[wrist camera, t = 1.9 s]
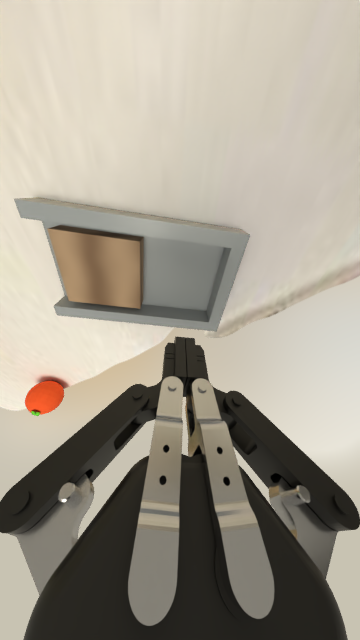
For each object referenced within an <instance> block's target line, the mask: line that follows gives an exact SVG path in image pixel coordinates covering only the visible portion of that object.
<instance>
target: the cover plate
mask: <svg viewBox="0 0 360 640" xmlns="http://www.w3.org/2000/svg"><path fill="white" fill-rule="evenodd" d="M47 230H48V233H49V236H50V240H51V243H52V246H53V250H54V253H55V256H56V260H57V263H58V266H59V270H60V273H61V276H62V280H63V283H64V286H65V290H66V293H67V296H68V300H69V301H74V302H83V303H92V304H101V305H111V306H120V307H129V308H138V309H140V308H141V305H142V302H143V257H144V237H140V236H133V235H126V234H119V233H112V232H105V231H99V230H92V229H85V228H78V227H71V226H64V225H58V226H54V227H51V228H47Z"/></svg>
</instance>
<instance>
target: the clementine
mask: <svg viewBox="0 0 360 640" xmlns="http://www.w3.org/2000/svg"><path fill="white" fill-rule="evenodd" d="M63 397H64V390H63V387H62V386H61V385H60V384H59V383H57V382H55V381H44V382H41V383H39V384H37V385H35V386H34V387H33V388H32V389H31V390H30V391H29V392H28V394H27V396H26V399H25V405H26V407H27V409H28V410H29V411H30V412H31V413H32V414H33V415H36V416H39V414H45V413H49V412H51V411H52V410H54V409H55V408H57V407H58V406H59V404H60V403H61V402H62V400H63Z"/></svg>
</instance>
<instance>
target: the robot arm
mask: <svg viewBox="0 0 360 640" xmlns="http://www.w3.org/2000/svg"><path fill="white" fill-rule="evenodd" d="M183 397H186V406H185V411H186V420H187V430H188V456H186V455H183V454H181V452H182V430H183V429H182V428H183V422H182V402H183V401H182V400H183ZM154 419H155V425H154V431H153V437H152V443H151V449H150V455H149V456H147V457H145V458H143V459H141V460H140V461H139V462H137V463H136V464H135V465H134V466H133V467H132V468H131V469H130V471H129V472H128V473H127V475H126V476H125V477H124V479H123V480H122V481H121V483H120V484H119V485H118V487H117V488H116V489H115V491H114V492H113V493H112V495H111V496H110V497H109V499H108V500H107V501H106V503H105V504H104V505H103V507H102V508H101V510H100V511H99V512H98V514H97V515H96V516H95V518H94V519H93V520H92V522H91V523H90V524H89V526H88V527H87V528H86V530H85V531H84V532H83V534H82V535H81V536H80V538H79V539H77V538H78V530H79V526H80V523H81V521H82V519H83V517H84V515H85V514H86V512H87V511H88V509H89V508H90V506H91V503H92V501H93V497H94V487H93V484H92V482H93V481H94V480H95V479H96V478H97V477H98V476H99V474H100V473H101V472H102V471H103V470H104V469H105V468H106V467H107V465H108V464H109V463H110V462H111V461H112V460H113V459H114V458H115V456H116V455H117V454H118V453H119V452H120V451H121V450H122V449H123V448H124V446H125V445H126V444H127V443H128V442H129V441H130V439H132V438H133V436H134V435H135V434H136V433H137V432H138V431H139V430H140V429H141V427H142V426H143V425H144V424H145V423H146V422H147V421H151V420H154ZM233 447H235V449H236V450H237V451H238V453H239V454H240V455H241V456H242V457H243V459H244V460H245V461H246V462H247V463H248V465H249V466H250V467H251V468H252V469H253V471H254V472H255V473H256V474H257V475H258V477H259V478H260V479H261V480H262V481H263V482H264V484H265V485H266V486H267V487H268V489H269V497H270V503H271V505H272V506H271V505H270V504H269V503H268V501H267V500H266V499H265V497H264V496H263V495H262V493H261V492H260V491H259V489H258V488H257V487H256V486H255V484H254V483H253V481H252V480H251V479H250V477H249V476H248V475H247V474H246V472H245V471H244V470H243V469H242V468H241V467H240V466H239V465H238V463H237V459H236V455H235V452H234V449H233ZM272 507H273V508H274V509H275V510H274V509H273V508H272ZM275 511H276V512H277V513H276V512H275ZM278 515H279V516H278ZM359 525H360V517H359V514H358V511H357V508H356V506H355V504H354V503H353V501H352V500H351V498H350V497H349V496H348V495H347V494H346V492H345V491H344V490H343V489H341V487H339V486H338V485H337V484H336V483H335V482H334V481H333V480H332V479H331V478H330V477H329V476H328V475H327V474H325V472H324V471H323V470H321V469H320V468H319V467H318V466H317V465H316V464H315V463H314V462H313V461H312V460H311V459H310V458H309V457H308V456H307V455H306V454H305V453H304V452H303V451H301V450H300V449H299V448H298V447H297V446H296V445H295V444H294V443H293V442H292V441H291V440H290V439H289V438H288V437H287V436H285V435H284V434H283V433H282V432H281V431H280V430H279V429H278V428H277V427H276V426H275V425H274V424H273V423H272V422H271V421H270V420H269V419H268V418H267V417H266V416H264V415H263V414H262V413H261V412H260V411H259V410H258V409H257V408H256V407H255V406H254V405H253V404H252V403H251V402H250V401H249V400H248V399H246V398H245V397H244V396H243V395H242V394H241V393H239V392H237V391H230V392H228V393H225V392H222V391H220V390H217V389H216V388H214V387H213V386H212V385H211V383H210V382H209V379H208V374H207V368H206V362H205V355H204V350H203V349H202V347H201V346H200V345H195V339H194V338H184V337H175V341H174V343H168V344H167V345H166V347H165V354H164V362H163V374H162V380H161V381H160V382H159V383H158V384H157V385H155V386H151V387H146V386H144V385H142V384H135V385H133V386H131V387H130V388H128V389H127V390H126V391H125V392H124V393H122V394H121V395H120V396H119V397H118V398H117V399H115V400H114V401H113V402H112V403H111V404H110V405H108V406H107V407H106V408H105V409H104V410H102V411H101V412H100V413H99V414H98V415H97V416H95V417H94V418H93V419H92V420H91V421H90V422H88V423H87V424H86V425H85V426H84V427H82V428H81V429H80V430H79V431H78V432H77V433H75V434H74V435H73V436H72V437H71V438H69V439H68V440H67V441H66V442H65V443H64V444H62V445H61V446H60V447H59V448H58V449H57V450H55V451H54V452H53V453H52V454H51V455H49V456H48V457H47V458H46V459H45V460H44V461H42V462H41V463H40V464H39V465H38V466H37V467H35V468H34V469H33V470H32V471H31V472H29V473H28V474H27V475H26V476H25V477H24V478H22V479H21V480H20V481H19V482H18V483H16V485H14V486H13V487H12V488H11V489H10V490H9V491H8V492H7V493H6V494H5V496H4V497H3V499H2V500H1V502H0V532H2V533H8V534H10V535H14V536H16V537H17V538H18V541H19V543H20V546H21V549H22V551H23V554H24V556H25V559H26V561H27V564H28V567H29V569H30V572H31V574H32V577H33V580H34V582H35V585H36V587H37V590H38V592H39V595H40V596H39V598H38V600H37V603H36V605H35V607H34V610H33V612H32V615H31V617H30V620H29V623H28V626H27V629H26V633H25V636H24V640H348V639H347V635H346V631H345V626H344V622H343V619H342V616H341V613H340V610H339V607H338V604H337V602H336V600H335V597H334V595H333V593H332V591H331V589H330V587H329V585H328V583H327V581H326V575H327V572H328V567H329V564H330V559H331V555H332V551H333V547H334V543H335V539H336V535H337V532H338V531H345V530H355V529H357V528H358V527H359Z"/></svg>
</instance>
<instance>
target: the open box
mask: <svg viewBox="0 0 360 640" xmlns="http://www.w3.org/2000/svg"><path fill="white" fill-rule="evenodd" d="M14 200H15V203H16V206H17V208H18V211H19V214H20V217H21V218H26V219H33V220H40V221H42V223H43V226H44V229H45V232H46V235H47V239H48V242H49V245H50V248H51V252H52V255H53V258H54V261H55V265H56V268H57V271H58V274H59V278H60V281H61V284H62V287H63V291H64V294H65V296H64V297H63V298H62V299H61V300H60V301H59V302H58V303H56V304H55V305H54V308H55V311H56V314H57V315H60V316H70V317H79V318H89V319H99V320H109V321H119V322H129V323H139V324H148V325H158V326H168V327H178V328H188V329H198V330H208V331H217V328H218V326H219V323H220V320H221V317H222V314H223V311H224V308H225V306H226V303H227V300H228V297H229V294H230V291H231V288H232V286H233V283H234V280H235V277H236V274H237V271H238V268H239V265H240V263H241V260H242V257H243V254H244V251H245V248H246V245H247V243H248V240H249V237H250V235H249V234H248V233H246V232H244V231H243V230H241V229H235V228H229V227H222V226H216V225H209V224H203V223H197V222H190V221H184V220H177V219H171V218H164V217H158V216H152V215H145V214H139V213H132V212H126V211H119V210H113V209H107V208H100V207H94V206H87V205H81V204H74V203H68V202H62V201H55V200H49V199H42V198H21V199H14ZM58 225H64V226H71V227H78V228H85V229H92V230H99V231H105V232H112V233H119V234H126V235H133V236H140V237H144V257H143V302H142V305H141V308H140V309H138V308H129V307H120V306H111V305H101V304H92V303H83V302H74V301H69V300H68V296H67V293H66V290H65V286H64V283H63V280H62V276H61V273H60V270H59V266H58V263H57V260H56V256H55V253H54V250H53V246H52V243H51V240H50V236H49V233H48V230H47V228H51V227H54V226H58Z"/></svg>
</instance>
